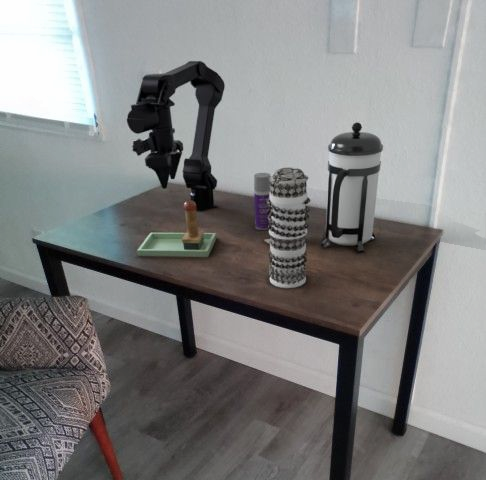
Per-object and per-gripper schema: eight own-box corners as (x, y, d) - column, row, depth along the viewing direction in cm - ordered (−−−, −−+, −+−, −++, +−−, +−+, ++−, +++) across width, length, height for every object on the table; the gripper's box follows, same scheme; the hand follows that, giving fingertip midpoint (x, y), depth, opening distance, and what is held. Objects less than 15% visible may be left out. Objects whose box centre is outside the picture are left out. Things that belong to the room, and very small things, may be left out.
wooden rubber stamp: (183, 251, 128) (177, 204, 121) (189, 241, 133) (184, 196, 127) (199, 251, 127) (194, 204, 121) (204, 242, 133) (200, 196, 126)
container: (260, 231, 139) (258, 178, 131) (252, 226, 143) (250, 174, 135) (274, 227, 141) (273, 175, 133) (266, 223, 144) (265, 171, 136)
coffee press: (308, 236, 135) (311, 120, 118) (363, 229, 137) (374, 114, 121) (329, 262, 120) (337, 134, 104) (391, 254, 122) (407, 127, 106)
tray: (138, 257, 128) (137, 250, 126) (151, 239, 138) (150, 232, 137) (208, 258, 125) (207, 251, 124) (216, 240, 135) (216, 232, 134)
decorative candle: (287, 267, 119) (287, 162, 106) (316, 279, 113) (320, 169, 100) (259, 279, 114) (256, 171, 101) (288, 293, 108) (288, 179, 95)
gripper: (143, 120, 142) (151, 174, 150) (121, 134, 126) (131, 193, 134) (180, 119, 140) (186, 174, 149) (163, 133, 125) (171, 193, 133)
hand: (168, 183), depth 141 cm, fingers open, 9 cm apart
